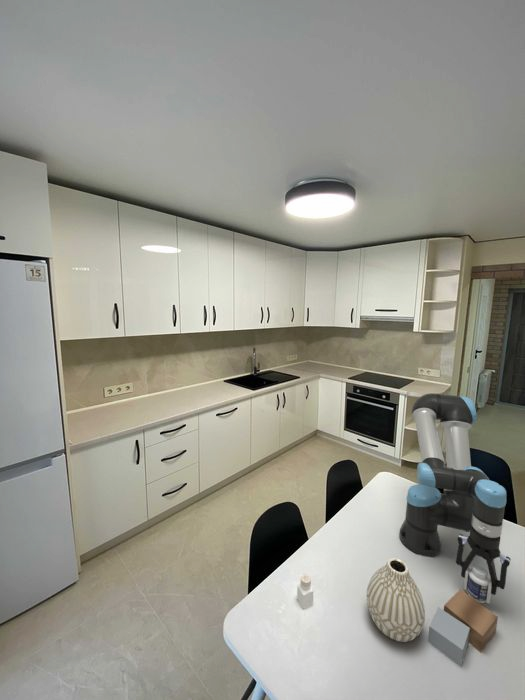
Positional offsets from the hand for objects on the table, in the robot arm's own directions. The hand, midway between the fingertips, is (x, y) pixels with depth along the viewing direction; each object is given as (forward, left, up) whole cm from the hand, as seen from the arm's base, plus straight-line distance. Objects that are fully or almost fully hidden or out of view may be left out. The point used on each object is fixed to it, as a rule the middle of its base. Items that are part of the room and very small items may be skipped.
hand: (476, 593), depth 95 cm
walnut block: (0, -12, -3) cm, 12 cm away
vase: (-16, -28, -3) cm, 32 cm away
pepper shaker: (-38, -43, -3) cm, 57 cm away
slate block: (-3, -22, -3) cm, 22 cm away
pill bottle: (0, 0, -1) cm, 1 cm away
